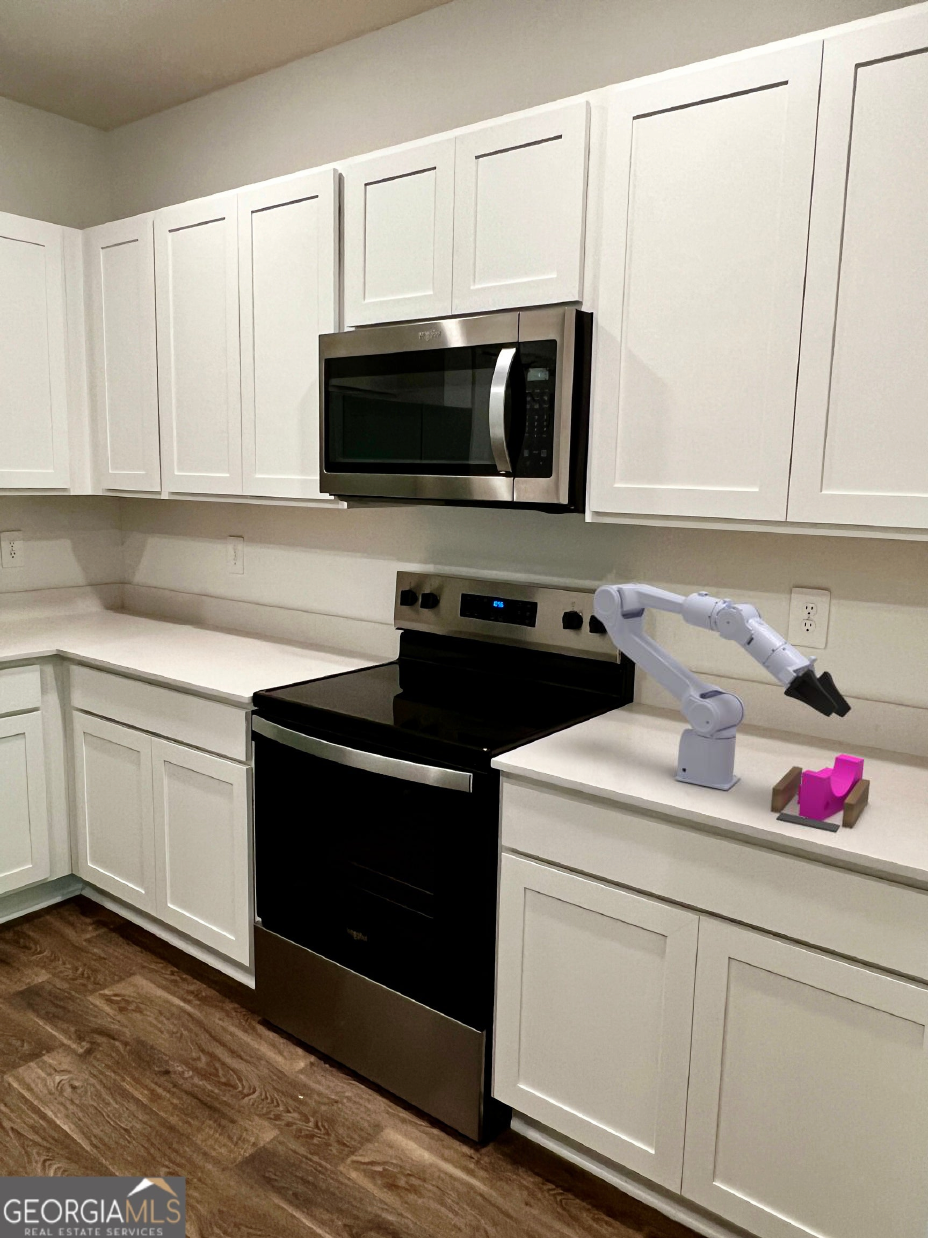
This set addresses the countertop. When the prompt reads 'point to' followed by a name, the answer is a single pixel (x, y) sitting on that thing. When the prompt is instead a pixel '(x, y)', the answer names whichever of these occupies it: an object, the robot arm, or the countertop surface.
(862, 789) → the channel
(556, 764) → the countertop surface
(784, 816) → the pit pad
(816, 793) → the toy block
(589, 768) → the countertop surface
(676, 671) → the robot arm
